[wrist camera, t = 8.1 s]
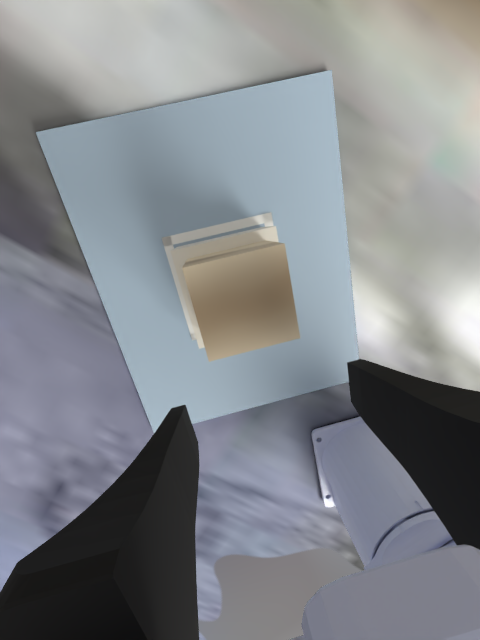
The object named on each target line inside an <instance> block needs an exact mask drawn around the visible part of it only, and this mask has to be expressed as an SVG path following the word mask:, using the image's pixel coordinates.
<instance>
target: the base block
mask: <svg viewBox="0 0 480 640" xmlns="http://www.w3.org/2000/svg"><path fill="white" fill-rule="evenodd" d="M265 240H266V241H272V242H279V241H278V235H277V229H276V226H268V227H259V228H255V229H251V230H247V231H243V232H238V233H234V234H230V235H226V236H221V237H217V238H213V239H209V240H204V241H200V242H196V243H192V244H187V245H183V246H179V247H176V248H174V249H173V250H171V251H170V252H171V255H172V259H173V262H174V265H175V269H176V272H177V276H178V279H179V282H180V286H181V289H182V293H183V296H184V299H185V303H186V306H187V310H188V313H189V316H190V320H191V323H192V327H193V330H194V333H195V337H196V340H197V344H198V347H199V349H201V348H205V346H204V343H203V339H202V336H201V332H200V329H199V326H198V322H197V319H196V315H195V312H194V308H193V305H192V301H191V298H190V294H189V291H188V287H187V284H186V280H185V277H184V273H183V270H182V267H183V265H184V264H185V262H186V260H187V259H190V258H194V257H198V256H202V255H206V254H211V253H215V252H219V251H223V250H227V249H232V248H236V247H240V246H244V245H248V244H252V243H257V242H261V241H265Z"/></svg>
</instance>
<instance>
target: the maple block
mask: <svg viewBox="0 0 480 640" xmlns="http://www.w3.org/2000/svg"><path fill="white" fill-rule="evenodd" d="M182 270H183V273H184V277H185V280H186V284H187V287H188V291H189V294H190V298H191V301H192V305H193V308H194V312H195V315H196V319H197V322H198V326H199V329H200V332H201V336H202V339H203V343H204V346H205V350H206V353H207V357H208V360H209V362H210V361H214V360H218V359H222V358H226V357H229V356H233V355H237V354H241V353H245V352H249V351H253V350H256V349H260V348H264V347H268V346H272V345H276V344H280V343H284V342H287V341H291V340H295V339H299V338H300V333H299V327H298V321H297V315H296V309H295V303H294V296H293V290H292V284H291V278H290V272H289V266H288V260H287V254H286V248H285V243H279V242H272V241H266V240H265V241H261V242H257V243H252V244H248V245H244V246H240V247H236V248H232V249H227V250H223V251H219V252H215V253H211V254H206V255H202V256H198V257H194V258H190V259H187V260H186V262H185V264H184V265H183V267H182Z"/></svg>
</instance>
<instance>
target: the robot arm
mask: <svg viewBox="0 0 480 640" xmlns="http://www.w3.org/2000/svg"><path fill="white" fill-rule="evenodd" d="M347 367H348V377H349V386H350V395H351V402H352V404H353V406H354V407H355V409H356V410H357V412H358V413H359V415H360V416H361V417H357V418H353V419H350V420H346V421H342V422H339V423H335V424H331V425H328V426H324V427H321V428H317V429H314V430H313V431H312V441H313V446H314V452H315V458H316V464H317V470H318V476H319V481H320V487H321V493H322V499H323V503H324V505H325V507H332V506H336V508H337V510H338V512H339V514H340V516H341V519H342V521H343V523H344V525H345V527H346V529H347V531H348V533H349V535H350V537H351V539H352V541H353V543H354V546H355V548H356V550H357V552H358V554H359V556H360V558H361V560H362V562H363V564H364V566H365V567H364V569H365V570H364V571H361V572H358V573H354V574H351V575H347V576H344V577H341V578H339V579H337V580H335V581H333V582H331V583H329V584H327V585H325V586H323V587H321V588H320V589H319V590H318V591H317V592H316V593H315V594H314V596H313V597H312V598H311V599H310V600H309V601H308V602H307V604H306V606H305V608H304V614H303V619H302V629H303V633H304V635H302V636H299V637H296V638H292V639H289V640H480V392H478V391H473V390H467V389H462V388H457V387H453V386H448V385H444V384H440V383H436V382H432V381H428V380H425V379H421V378H418V377H414V376H411V375H408V374H405V373H402V372H399V371H396V370H393V369H390V368H387V367H384V366H381V365H378V364H375V363H372V362H369V361H366V360H362V359H359V360H355V361H351V362H347ZM317 438H319V439H318V440H316V439H317ZM198 478H199V450H198V441H197V438H196V435H195V432H194V429H193V426H192V423H191V420H190V417H189V414H188V411H187V408H186V405H181V406H178V407H174V408H171V409H170V411H169V412H168V414H167V415H166V417H165V418H164V420H163V421H162V423H161V424H160V426H159V427H158V429H157V430H156V432H155V433H154V435H153V436H152V437H151V439H150V440H149V442H148V443H147V444H146V446H145V447H144V448H143V449H142V451H141V452H140V453H139V455H138V456H137V457H136V459H135V460H134V461H133V462H132V463H131V465H130V466H129V467H128V468H127V469H126V470H125V472H124V473H123V474H122V475H121V476H120V477H119V478H118V479H117V480H116V481H115V482H114V483H113V484H112V485H111V486H110V487H109V488H108V489H107V490H106V491H105V492H104V493H103V494H102V495H101V496H100V497H99V498H98V499H97V500H96V501H95V502H94V503H93V504H92V505H90V506H89V507H88V508H87V509H86V510H85V511H84V512H82V513H81V514H80V515H79V516H78V517H77V518H76V519H74V520H73V521H72V522H71V523H69V524H68V525H67V526H66V527H65V528H63V529H62V530H61V531H59V532H58V533H57V534H56V535H54V536H53V537H52V538H50V539H49V540H48V541H46V542H45V543H44V544H42V545H41V546H39V547H38V548H37V549H35V550H34V551H33V552H31V553H30V554H29V555H27V556H26V557H24V558H23V559H22V560H20V561H19V562H18V563H17V564H16V566H15V568H14V569H13V571H12V573H11V575H10V576H9V578H8V580H7V582H6V583H5V585H4V587H3V589H2V590H1V592H0V640H199V629H198V608H197V585H196V553H195V521H196V507H197V493H198Z"/></svg>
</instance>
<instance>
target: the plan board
mask: <svg viewBox="0 0 480 640" xmlns="http://www.w3.org/2000/svg"><path fill="white" fill-rule="evenodd" d="M36 135H37V137H38V140H39V142H40V145H41V147H42V150H43V152H44V155H45V157H46V160H47V163H48V165H49V168H50V170H51V173H52V175H53V178H54V180H55V183H56V185H57V188H58V190H59V193H60V196H61V198H62V201H63V203H64V206H65V208H66V211H67V213H68V216H69V218H70V221H71V224H72V226H73V229H74V231H75V234H76V236H77V239H78V241H79V244H80V246H81V249H82V252H83V254H84V257H85V259H86V262H87V264H88V267H89V269H90V272H91V274H92V277H93V279H94V282H95V285H96V287H97V290H98V292H99V295H100V297H101V300H102V302H103V305H104V307H105V310H106V313H107V315H108V318H109V320H110V323H111V325H112V328H113V330H114V333H115V335H116V338H117V341H118V343H119V346H120V348H121V351H122V353H123V356H124V358H125V361H126V363H127V366H128V368H129V371H130V374H131V376H132V379H133V381H134V384H135V386H136V389H137V391H138V394H139V396H140V399H141V402H142V404H143V407H144V409H145V412H146V414H147V417H148V419H149V422H150V424H151V427H152V430H153V432H154V433H155V432H156V430H157V429H158V427H159V426H160V424H161V423H162V421H163V420H164V418H165V417H166V415H167V414H168V412H169V411H170V409H171V408H174V407H178V406H181V405H186V408H187V411H188V414H189V417H190V420H191V423H192V424H194V423H198V422H201V421H205V420H209V419H212V418H216V417H220V416H224V415H227V414H231V413H235V412H239V411H242V410H246V409H250V408H253V407H257V406H261V405H265V404H268V403H272V402H276V401H280V400H283V399H287V398H291V397H295V396H298V395H302V394H306V393H309V392H313V391H317V390H321V389H324V388H328V387H332V386H336V385H339V384H343V383H347V382H349V377H348V367H347V362H351V361H355V360H359V355H358V344H357V334H356V323H355V312H354V302H353V291H352V281H351V270H350V259H349V249H348V238H347V228H346V217H345V206H344V196H343V185H342V175H341V164H340V153H339V143H338V132H337V122H336V111H335V100H334V90H333V79H332V70H329V71H324V72H319V73H314V74H310V75H305V76H300V77H295V78H291V79H286V80H281V81H276V82H272V83H267V84H262V85H257V86H253V87H248V88H243V89H238V90H234V91H229V92H224V93H219V94H215V95H210V96H205V97H200V98H196V99H191V100H186V101H181V102H177V103H172V104H167V105H162V106H158V107H153V108H148V109H144V110H139V111H134V112H129V113H125V114H120V115H115V116H110V117H106V118H101V119H96V120H91V121H87V122H82V123H77V124H72V125H68V126H63V127H58V128H53V129H49V130H44V131H39V132H36ZM268 226H276V229H277V235H278V241H279V243H285V248H286V254H287V260H288V266H289V272H290V278H291V284H292V290H293V296H294V303H295V309H296V315H297V321H298V327H299V333H300V338H299V339H295V340H291V341H287V342H284V343H280V344H276V345H272V346H268V347H264V348H260V349H256V350H253V351H249V352H245V353H241V354H237V355H233V356H229V357H226V358H222V359H218V360H214V361H210V362H209V360H208V357H207V353H206V350H205V348H201V349H199V347H198V344H197V340H196V337H195V333H194V330H193V327H192V323H191V320H190V316H189V313H188V310H187V306H186V303H185V299H184V296H183V293H182V289H181V286H180V282H179V279H178V276H177V272H176V269H175V265H174V262H173V259H172V255H171V252H170V251H171V250H173V249H174V248H176V247H179V246H183V245H187V244H192V243H196V242H200V241H204V240H209V239H213V238H217V237H221V236H226V235H230V234H234V233H238V232H243V231H247V230H251V229H255V228H259V227H268Z"/></svg>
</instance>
